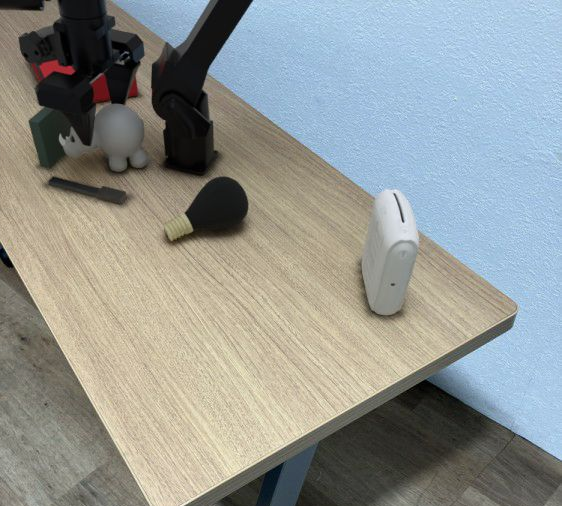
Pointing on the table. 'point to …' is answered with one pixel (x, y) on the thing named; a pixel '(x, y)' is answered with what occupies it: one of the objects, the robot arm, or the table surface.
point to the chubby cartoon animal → (113, 138)
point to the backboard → (49, 135)
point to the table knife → (90, 190)
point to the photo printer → (389, 252)
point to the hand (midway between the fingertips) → (103, 129)
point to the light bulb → (211, 209)
